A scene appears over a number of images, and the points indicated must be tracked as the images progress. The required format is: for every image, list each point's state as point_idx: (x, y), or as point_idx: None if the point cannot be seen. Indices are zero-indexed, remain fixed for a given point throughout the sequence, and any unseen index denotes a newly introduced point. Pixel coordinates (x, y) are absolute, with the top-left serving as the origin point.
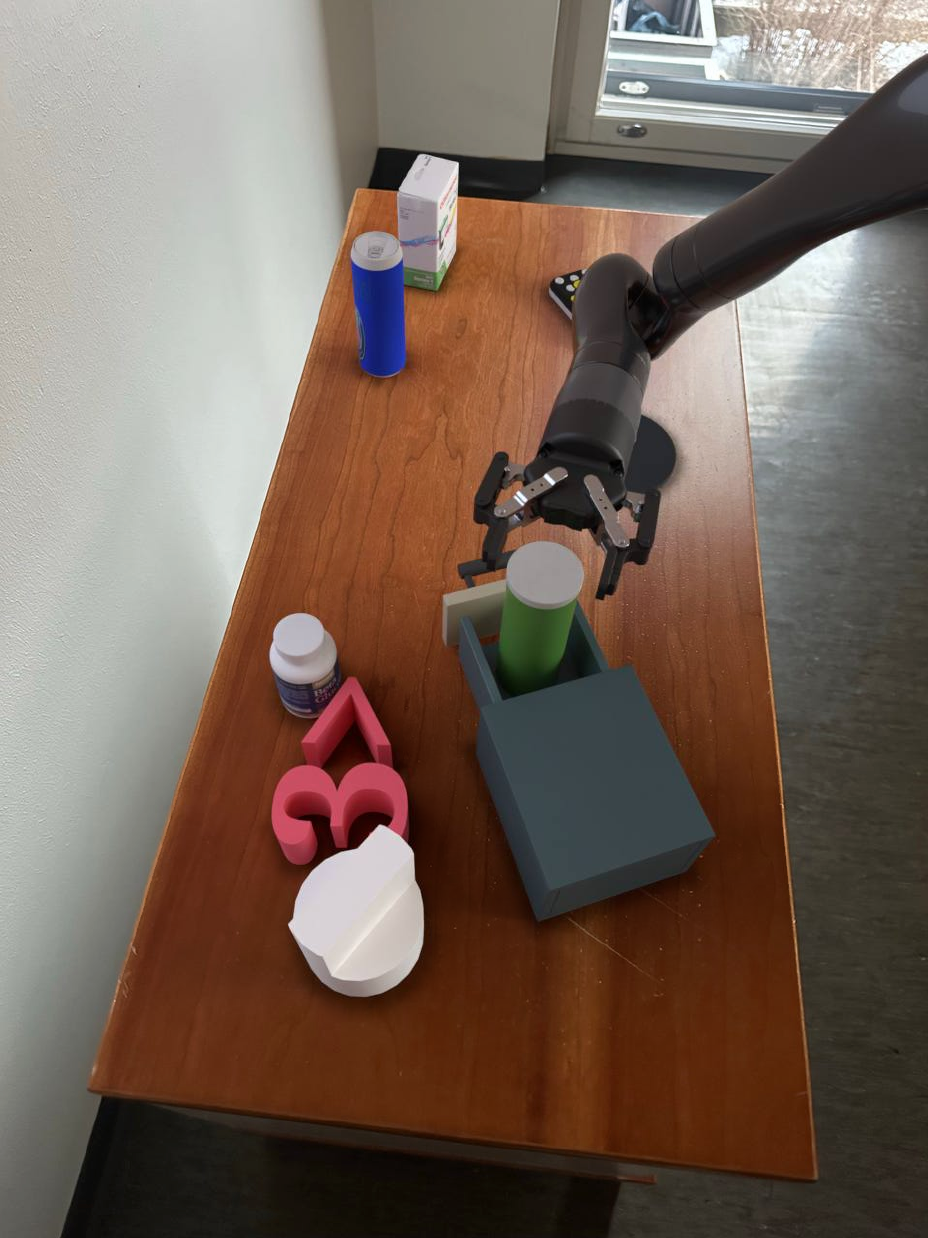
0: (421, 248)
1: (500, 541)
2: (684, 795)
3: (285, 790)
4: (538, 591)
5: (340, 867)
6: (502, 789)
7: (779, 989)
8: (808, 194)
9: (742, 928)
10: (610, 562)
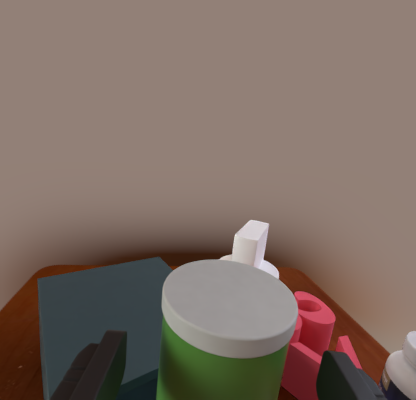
0: None
1: (349, 381)
2: (50, 295)
3: (325, 310)
4: (227, 268)
5: (263, 232)
6: None
7: (10, 306)
8: None
9: (15, 329)
10: (91, 374)
